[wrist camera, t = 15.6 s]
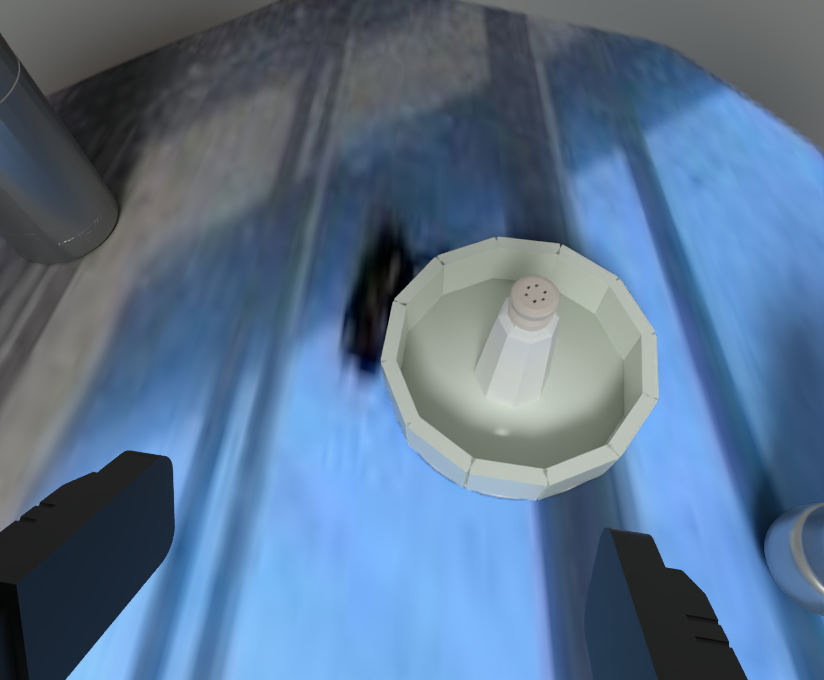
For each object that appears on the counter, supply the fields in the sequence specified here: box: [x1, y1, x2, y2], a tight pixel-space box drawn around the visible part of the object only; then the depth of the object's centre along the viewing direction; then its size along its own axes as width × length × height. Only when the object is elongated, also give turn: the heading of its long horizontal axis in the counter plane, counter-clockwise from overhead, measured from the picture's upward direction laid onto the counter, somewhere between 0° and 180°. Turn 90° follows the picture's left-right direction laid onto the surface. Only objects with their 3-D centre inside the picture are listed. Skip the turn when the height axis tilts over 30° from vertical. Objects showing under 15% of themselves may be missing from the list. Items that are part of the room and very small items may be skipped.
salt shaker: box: [474, 275, 560, 409], centre depth 37 cm, size 5×5×11 cm
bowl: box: [381, 237, 659, 501], centre depth 41 cm, size 18×18×5 cm
